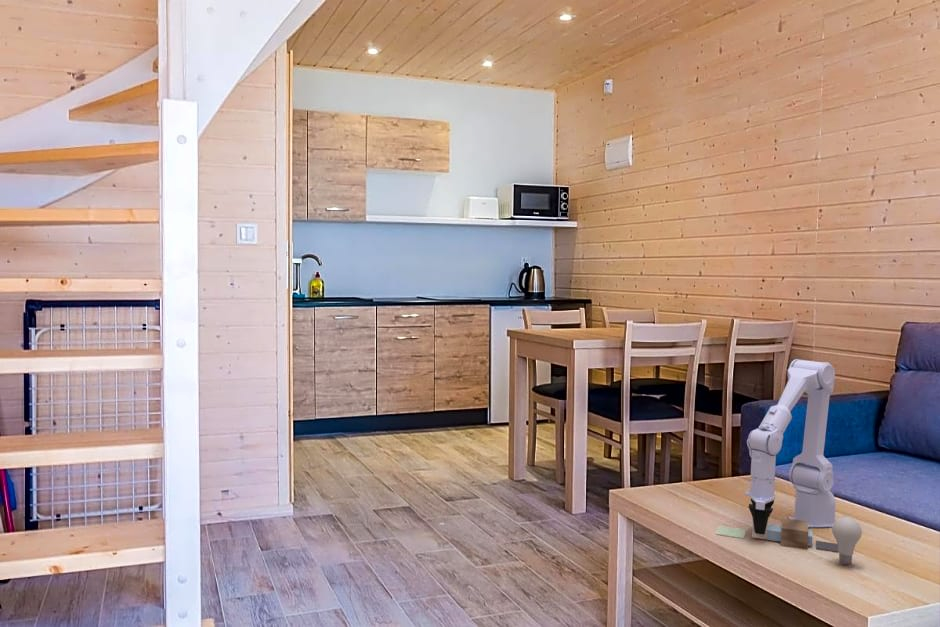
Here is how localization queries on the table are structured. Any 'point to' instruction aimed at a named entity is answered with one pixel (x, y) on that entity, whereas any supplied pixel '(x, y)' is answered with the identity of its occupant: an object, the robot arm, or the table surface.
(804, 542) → the tunnel
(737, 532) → the mat
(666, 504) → the table surface
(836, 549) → the pad
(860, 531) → the lightbulb
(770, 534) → the block
